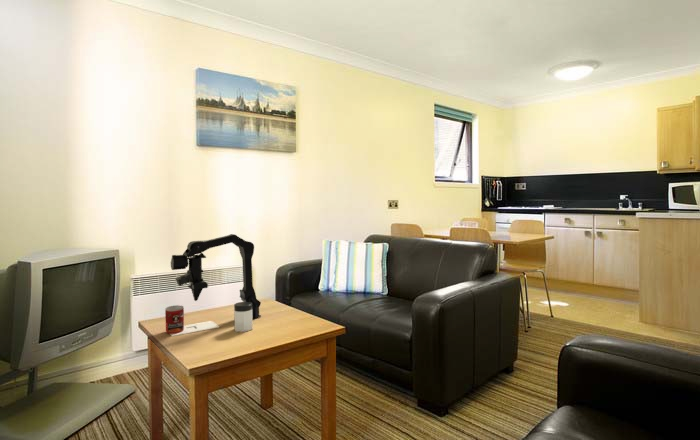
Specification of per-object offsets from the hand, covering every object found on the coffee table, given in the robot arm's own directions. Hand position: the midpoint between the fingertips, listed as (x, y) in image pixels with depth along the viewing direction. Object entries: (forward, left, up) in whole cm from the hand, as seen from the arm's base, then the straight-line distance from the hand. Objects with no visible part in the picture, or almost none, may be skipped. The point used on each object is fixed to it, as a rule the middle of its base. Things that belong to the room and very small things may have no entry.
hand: (195, 300), depth 182 cm
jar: (-22, -7, -13) cm, 27 cm away
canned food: (+5, +8, -13) cm, 16 cm away
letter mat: (+1, +2, -13) cm, 13 cm away
